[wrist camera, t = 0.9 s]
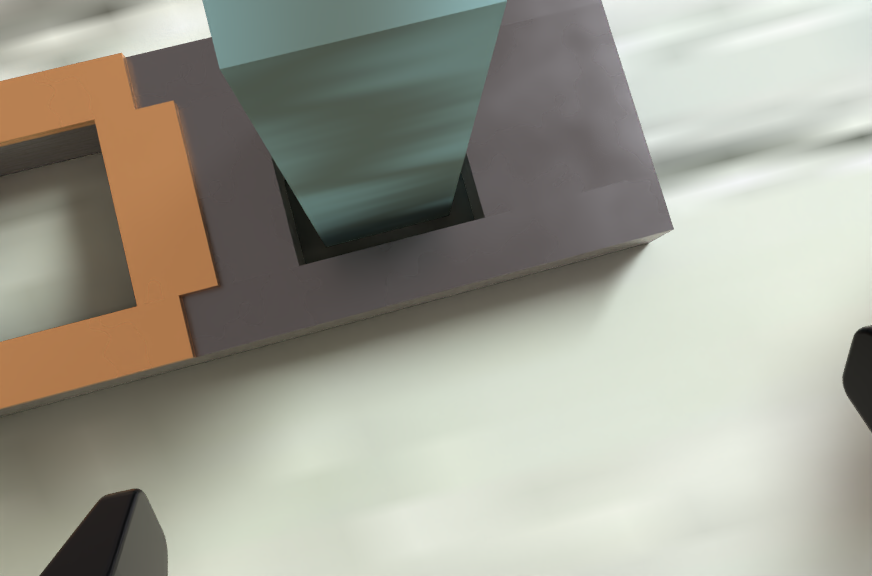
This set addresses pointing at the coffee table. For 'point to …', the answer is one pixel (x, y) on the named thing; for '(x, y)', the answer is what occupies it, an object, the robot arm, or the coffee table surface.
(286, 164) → the peg
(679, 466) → the coffee table surface
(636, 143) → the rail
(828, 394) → the coffee table surface
